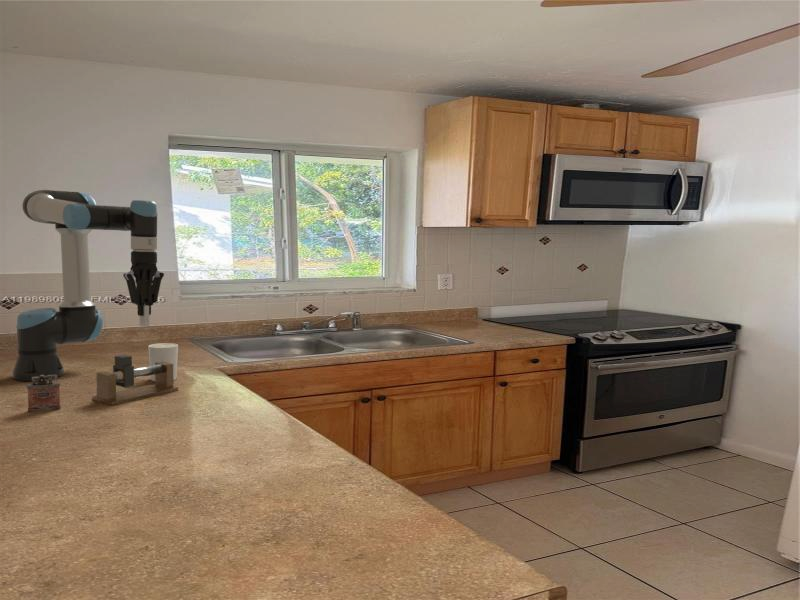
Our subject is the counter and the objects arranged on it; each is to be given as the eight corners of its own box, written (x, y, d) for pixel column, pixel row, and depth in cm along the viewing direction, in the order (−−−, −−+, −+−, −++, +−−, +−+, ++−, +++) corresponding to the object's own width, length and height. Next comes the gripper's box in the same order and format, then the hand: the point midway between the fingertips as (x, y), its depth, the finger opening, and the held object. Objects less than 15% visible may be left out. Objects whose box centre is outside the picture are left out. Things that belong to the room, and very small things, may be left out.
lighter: (27, 413, 168) (26, 377, 167) (28, 409, 171) (27, 375, 170) (60, 410, 171) (59, 375, 170) (60, 407, 174) (60, 372, 173)
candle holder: (168, 383, 206) (168, 348, 205) (142, 381, 208) (142, 346, 207) (184, 377, 215) (183, 343, 214) (159, 375, 217) (158, 342, 216)
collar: (113, 384, 186) (112, 355, 185) (122, 382, 188) (121, 354, 187) (125, 387, 183) (124, 358, 182) (134, 385, 185) (133, 356, 184)
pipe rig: (92, 400, 183) (91, 371, 182) (158, 385, 202) (158, 360, 201) (111, 405, 177) (111, 376, 176) (178, 390, 197) (177, 364, 196)
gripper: (132, 251, 180) (132, 329, 183) (169, 251, 191) (169, 325, 194) (117, 250, 184) (118, 326, 187) (155, 250, 195) (155, 322, 198)
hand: (144, 325), depth 190 cm, fingers closed
